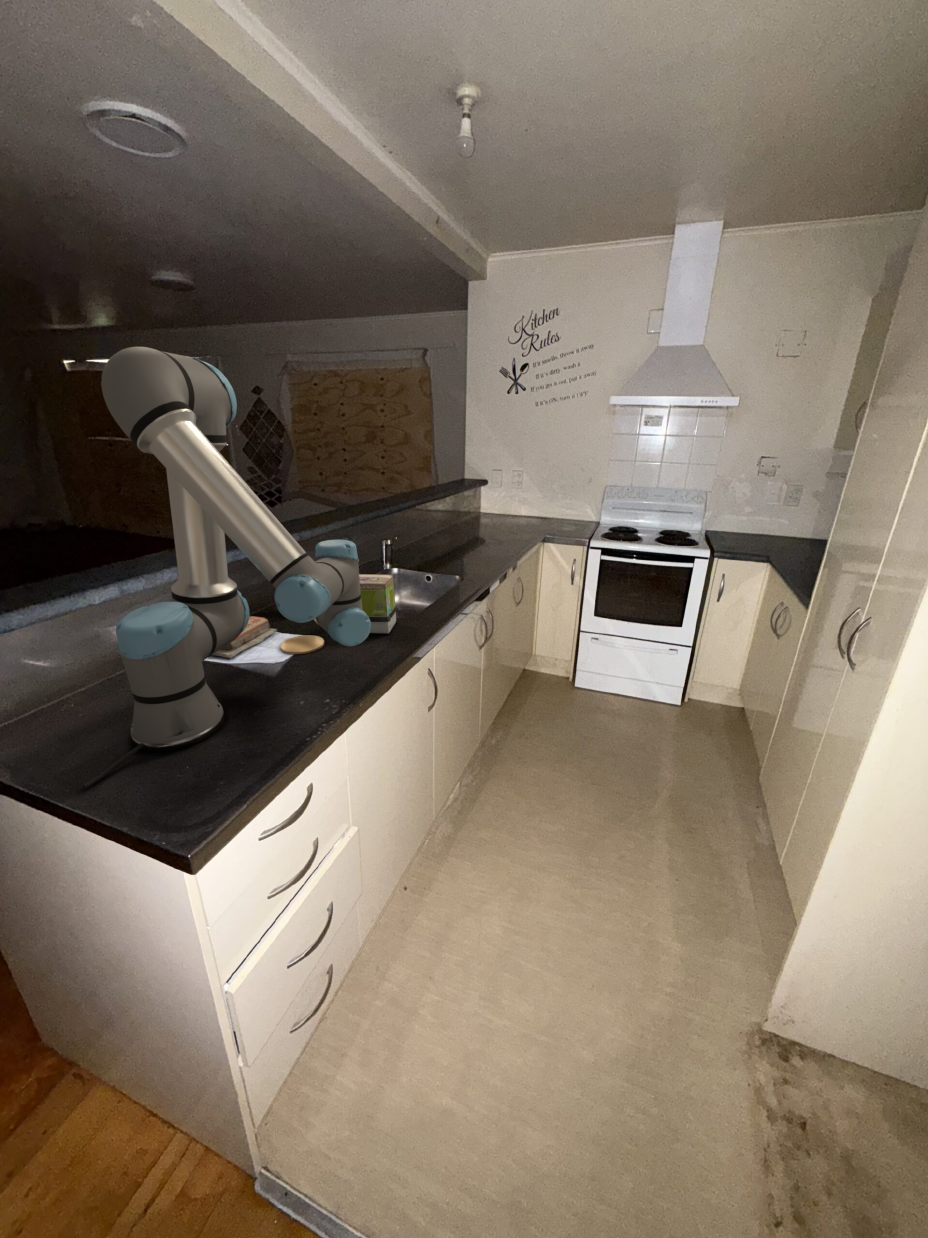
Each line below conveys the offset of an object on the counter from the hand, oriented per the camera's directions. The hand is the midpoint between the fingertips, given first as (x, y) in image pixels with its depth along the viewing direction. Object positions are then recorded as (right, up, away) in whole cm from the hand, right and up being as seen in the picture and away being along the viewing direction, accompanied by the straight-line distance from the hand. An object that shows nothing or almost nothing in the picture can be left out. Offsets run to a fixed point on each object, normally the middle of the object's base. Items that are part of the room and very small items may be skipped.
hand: (294, 581), depth 120 cm
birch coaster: (-1, -16, +8) cm, 18 cm away
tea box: (+14, -12, +20) cm, 27 cm away
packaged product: (-18, -16, +9) cm, 26 cm away
